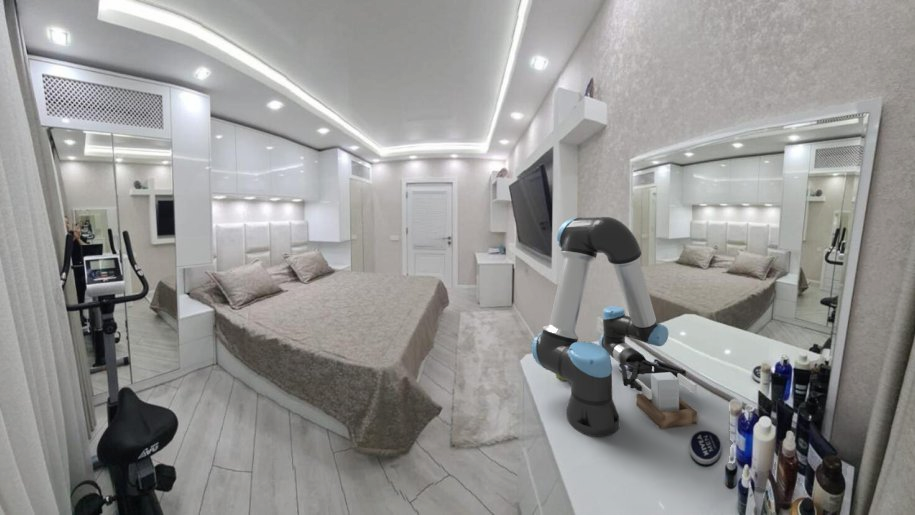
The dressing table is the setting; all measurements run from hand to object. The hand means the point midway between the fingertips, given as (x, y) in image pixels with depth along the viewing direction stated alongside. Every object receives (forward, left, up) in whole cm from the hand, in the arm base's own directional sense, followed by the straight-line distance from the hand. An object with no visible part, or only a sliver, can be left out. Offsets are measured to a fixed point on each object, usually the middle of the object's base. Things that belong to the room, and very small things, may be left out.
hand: (673, 392), depth 90 cm
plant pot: (-21, +30, -10) cm, 38 cm away
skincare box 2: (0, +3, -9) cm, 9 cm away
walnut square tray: (0, +3, -10) cm, 10 cm away
